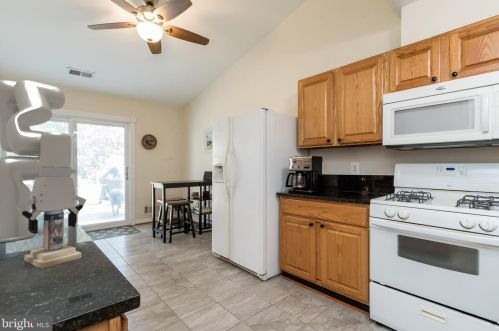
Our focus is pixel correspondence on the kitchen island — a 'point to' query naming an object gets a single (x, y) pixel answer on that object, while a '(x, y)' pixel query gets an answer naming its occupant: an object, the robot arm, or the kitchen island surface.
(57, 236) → the beer can
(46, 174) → the robot arm
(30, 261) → the stacking base
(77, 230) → the kitchen island surface
